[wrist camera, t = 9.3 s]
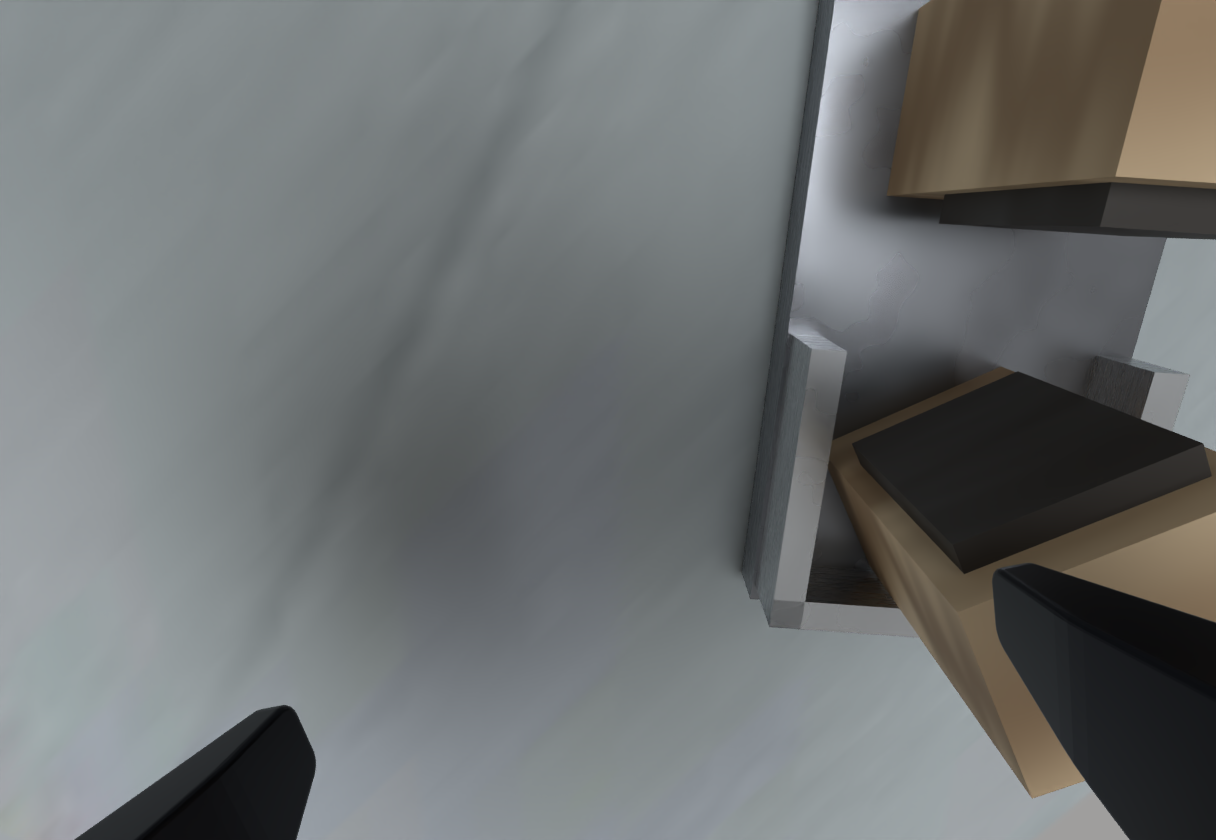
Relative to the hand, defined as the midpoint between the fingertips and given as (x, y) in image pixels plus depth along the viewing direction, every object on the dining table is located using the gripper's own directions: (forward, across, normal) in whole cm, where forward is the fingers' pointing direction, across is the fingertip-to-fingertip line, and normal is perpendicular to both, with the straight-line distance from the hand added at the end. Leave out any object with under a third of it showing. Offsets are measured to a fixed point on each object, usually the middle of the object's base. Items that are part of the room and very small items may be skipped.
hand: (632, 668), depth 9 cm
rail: (+12, -9, -2) cm, 15 cm away
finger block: (+10, -8, +3) cm, 13 cm away
